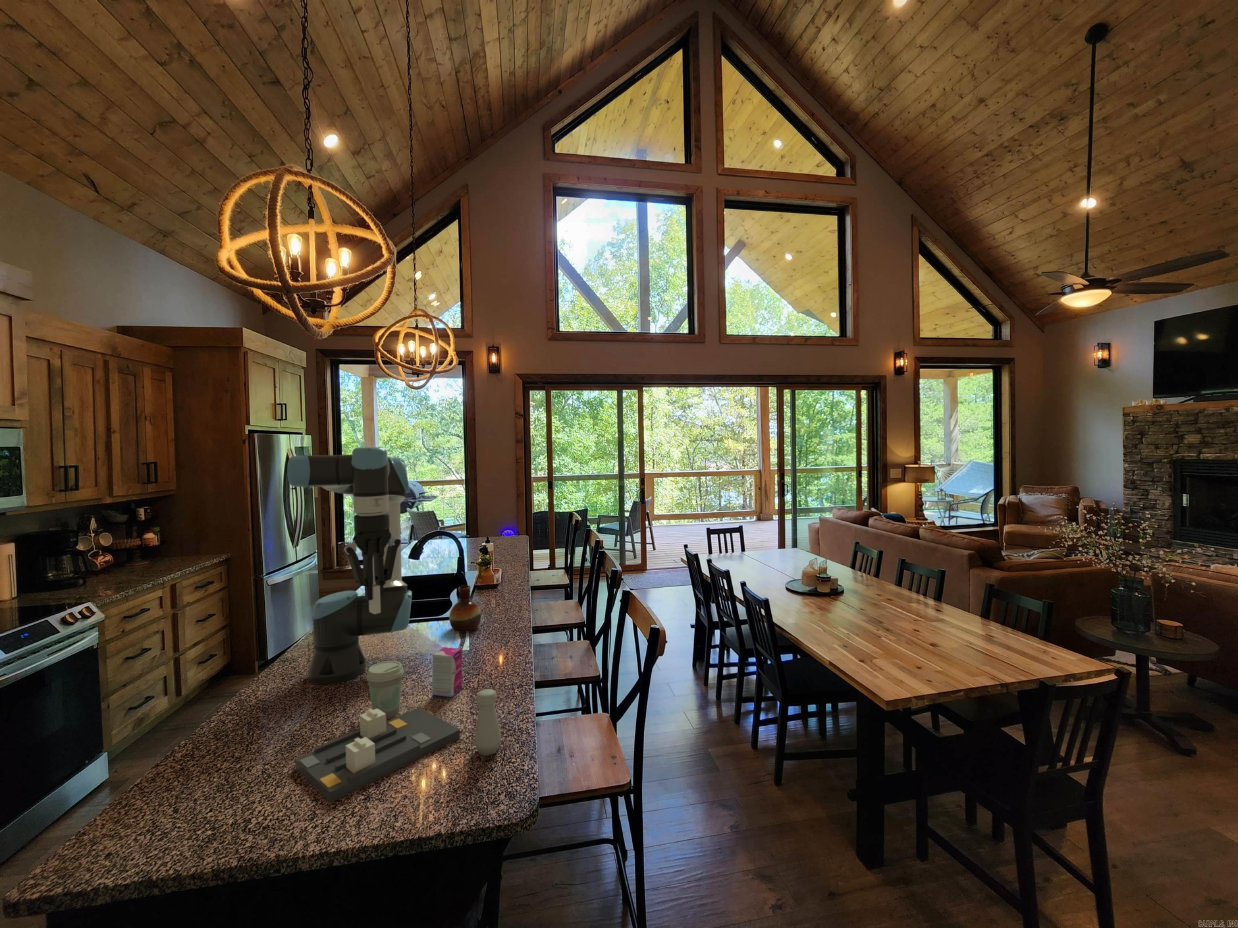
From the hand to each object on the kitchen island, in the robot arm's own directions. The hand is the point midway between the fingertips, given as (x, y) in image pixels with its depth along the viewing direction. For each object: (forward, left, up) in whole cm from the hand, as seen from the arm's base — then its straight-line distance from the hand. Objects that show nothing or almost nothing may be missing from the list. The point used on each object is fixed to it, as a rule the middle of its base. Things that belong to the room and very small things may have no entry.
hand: (374, 612), depth 126 cm
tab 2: (+17, -12, -25) cm, 32 cm away
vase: (-42, +53, -28) cm, 73 cm away
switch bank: (+12, -5, -28) cm, 30 cm away
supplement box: (-2, +20, -28) cm, 34 cm away
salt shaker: (+29, +10, -28) cm, 41 cm away
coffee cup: (-4, +4, -28) cm, 28 cm away
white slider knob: (+7, -4, -25) cm, 27 cm away
